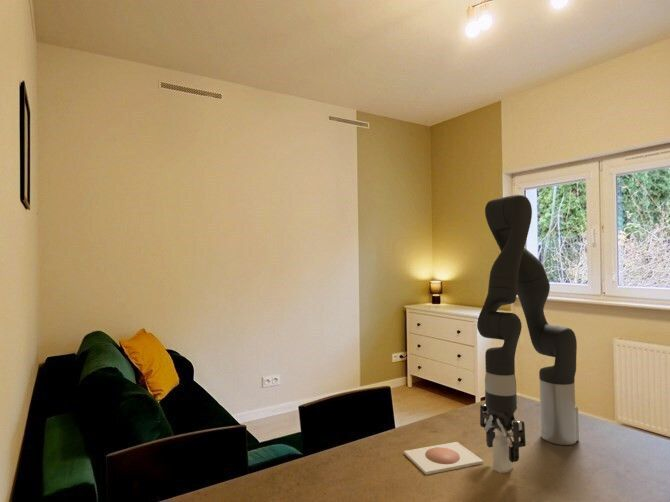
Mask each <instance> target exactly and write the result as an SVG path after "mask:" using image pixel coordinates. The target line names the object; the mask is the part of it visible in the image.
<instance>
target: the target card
mask: <svg viewBox="0 0 670 502" xmlns="http://www.w3.org/2000/svg"><path fill="white" fill-rule="evenodd" d="M403 453H404V455H405V456H406V457H407V458H408V459H409V460H410V461H411V462H412V463H413V464H414V465H415V466H416V467H418V469H419V470H420V471H421V472H422V473H424V475H426V476H427V475H432V474H436V473H442V472H446V471H447V472H448V471H452V470H457V469H461V468H467V467H472V466H478V465H483V464H484V460H483V459H482V458H480V457H478V456H477V455H476V454H475V453H473V451H470V450H469V449H468V448H466V447H465V446H464V445H462V444H461V443H459V442H458V441H453V442H448V443H442V444H437V445H431V446H425V447H419V448H414V449H407V450H403Z"/></svg>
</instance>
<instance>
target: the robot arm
mask: <svg viewBox="0 0 670 502" xmlns="http://www.w3.org/2000/svg"><path fill="white" fill-rule="evenodd" d="M484 214H485V219H486V222H487V224H488V225H487V226H488V227H489V230H490V232H491V234H492V236H493V238H494V239H495V242H496V244H497V245H498V248H499V250H500V253H499V255H498V256H497V258H496V259H495V261H494V262H493V264H492V266H491V269H490V272H489V279H488V280H489V281H488V287H487V288H488V289H487V295H486V297H485V300H484V303H483V305H482V307H481V311H480V312H479V315H478V317H477V324H476V328H477V332H478V333H479V335H480V336H481V337H483V338H486V339H492V340H500V341H501V340H502V341H503V345H502V346H498V347H497V346H496V347H489V348H488V349H486V351H485V355H484V356H485V358H484V359H485V361H484V362H485V375H484V376H485V377H484V398H485V399H484V404H481V405H479V407H480V412H479V414H480V415H479V416H480V417H479V419H480V420H479V425H480V427H481V428H484V432H485V435H486V436H485V438H486V446H487V447H488V448H493V439H494V438H495V437H496V432H495V431H496V430H497V429H499V430H500V431H501V432H502V433H503V436H504V437H505V438H506V439H507V441H508V443H509V460H510V461H511V462H513V463H516V462H518V461H519V460H520V449H519V448H522V447H526V445H527V443H526V429H525V428H526V427H525V421H524V420H517V419H516V418H515V412H516V411H517V409H518V405H517V404H518V402H517V401H518V400H517V398H518V397H517V394H518V393H517V379H516V373H515V372H516V366H515V364H516V363H515V362H516V361H515V359H516V351H517V346H518V343H519V340H520V336H521V332H522V326H523V325H522V321H521V318H520V317H519V316H518V315H517V314H516V313H514V312H507V311H506V312H505V311H498V310H499V308H500V307H503V306H506V305H507V306H508V305H511V304H514V303H515V302H516V300H517V297H518V299H519V302H520V305H521V309H522V311H523V314H524V318H525V321H526V326H527V330H528V333H529V338H530V341H531V344H532V346H533V349H534V350H535V351H536V352H537V354H539V355H542V356H547V357H551V358H554V364H553V365H552V366H551V365H550V366H545V367H542V368H540V369H539V373H538V374H539V376H538V377H539V378H538V379H539V402H540V403H539V407H540V409H539V411H540V436H541V438H542V439H543V440H545V441H546V442H549V443H551V444H556V445H559V446H560V445H562V446H570V445H574V444H576V443H577V441H580V428H579V427H580V425H579V408H578V406H576V389H575V387H576V386H575V381H576V379H575V376H576V372H577V351H578V350H577V349H578V348H577V347H578V345H577V344H578V343H577V337H576V333H575V331H573V329H572V328H570V327H565V326H560V325H551V324H549V323H548V322H547V319H546V315H545V312H544V311H545V310H544V309H545V306H546V302H547V299H548V297H549V294H550V289H551V288H550V287H551V286H550V281H549V279H548V275H547V272H546V269H545V267H544V265H543V263H542V262H541V261H540V260H539V258H537V257H536V256H535V255H534V254H533V253H532V252H530V251H529V250H528V249H527V248H526V243H527V241H528V240H527V238H528V236H529V231H530V227H531V224H532V218H533V217H532V216H533V209H532V204H531V202H530V199H529V198H528V197H527V196H526V195H524V194H513V195H507V196H503V197H499V198H494V199H491V200H489V201H488V202H487V203H486V205H485V207H484ZM510 431H511V432H510ZM511 438H512V439H511ZM519 439H520V440H519Z"/></svg>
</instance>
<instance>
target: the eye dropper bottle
mask: <svg viewBox="0 0 670 502" xmlns="http://www.w3.org/2000/svg"><path fill="white" fill-rule="evenodd" d="M496 433H497V435H495V438H494V439H493V447H492V464H493V465H492V468H493V470H494V471H495V472H497V473H500V474H504V473H509V472H511V471H512V470H513V468H514V462H511V461H510V460H509V443H508V441H507V439H506V438H505V437H504V436H503V433H502V432H501V431H500V430H499V429H496ZM511 439H512V440H513V437H511Z"/></svg>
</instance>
